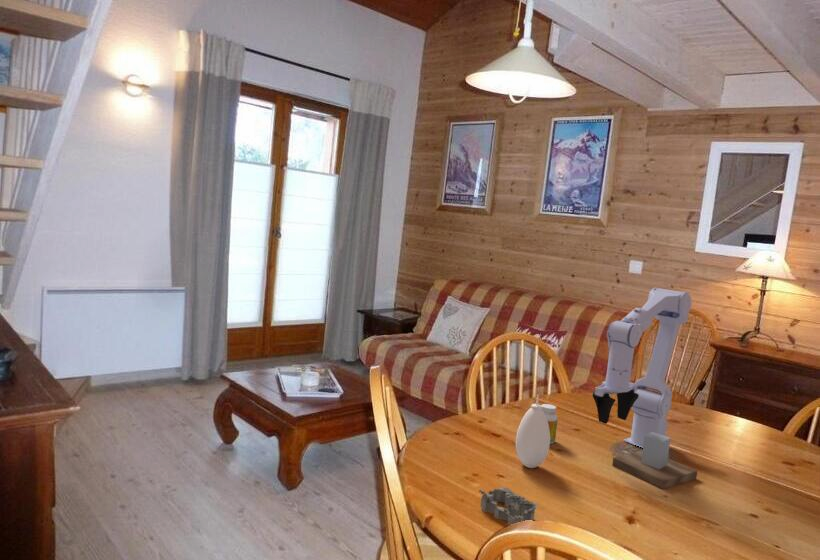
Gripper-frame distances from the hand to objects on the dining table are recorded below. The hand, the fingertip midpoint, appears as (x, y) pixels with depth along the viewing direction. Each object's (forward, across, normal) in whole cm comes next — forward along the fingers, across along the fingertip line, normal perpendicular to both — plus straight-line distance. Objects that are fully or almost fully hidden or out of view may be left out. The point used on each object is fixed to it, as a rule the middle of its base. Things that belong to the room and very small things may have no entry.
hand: (612, 420), depth 150 cm
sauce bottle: (+11, +23, -5) cm, 26 cm away
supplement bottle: (+11, +6, -16) cm, 20 cm away
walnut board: (+10, -5, +10) cm, 15 cm away
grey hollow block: (+11, +45, +10) cm, 47 cm away
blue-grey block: (+8, -5, +10) cm, 14 cm away
